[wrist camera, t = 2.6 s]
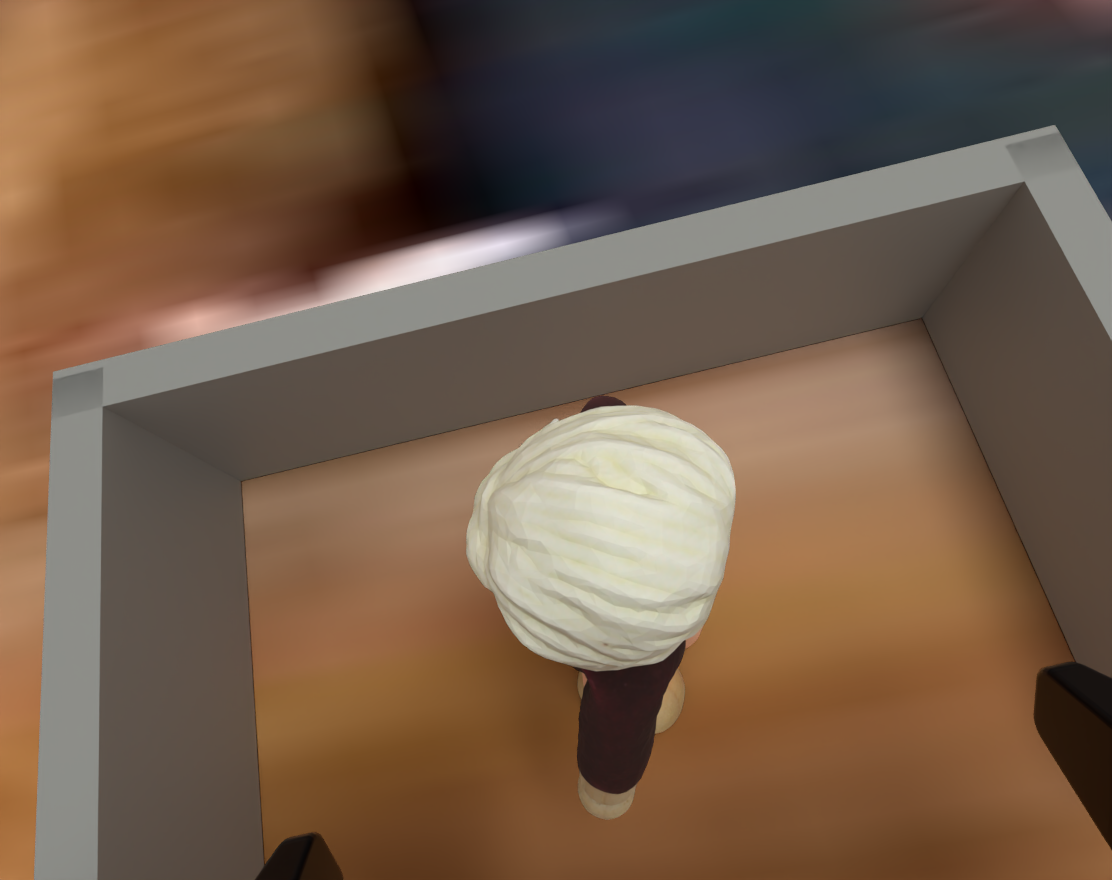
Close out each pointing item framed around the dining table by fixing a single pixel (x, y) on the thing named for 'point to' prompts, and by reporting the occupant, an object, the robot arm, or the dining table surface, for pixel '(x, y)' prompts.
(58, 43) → the dining table surface
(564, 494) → the grandmother figurine
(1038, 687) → the robot arm
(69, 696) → the open crate
